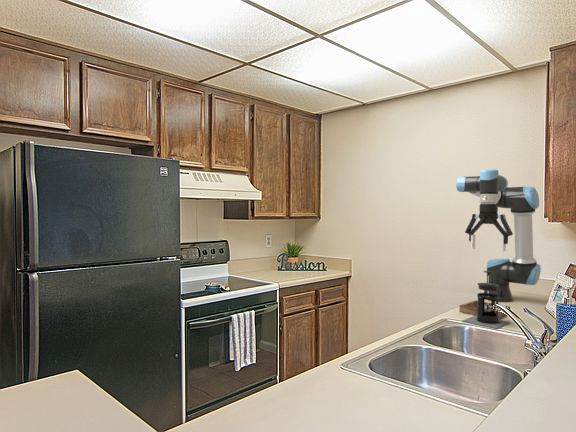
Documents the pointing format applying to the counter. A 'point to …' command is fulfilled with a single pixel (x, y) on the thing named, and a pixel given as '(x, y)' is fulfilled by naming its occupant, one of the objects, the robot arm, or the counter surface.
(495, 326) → the mat
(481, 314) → the french press
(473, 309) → the cradle
